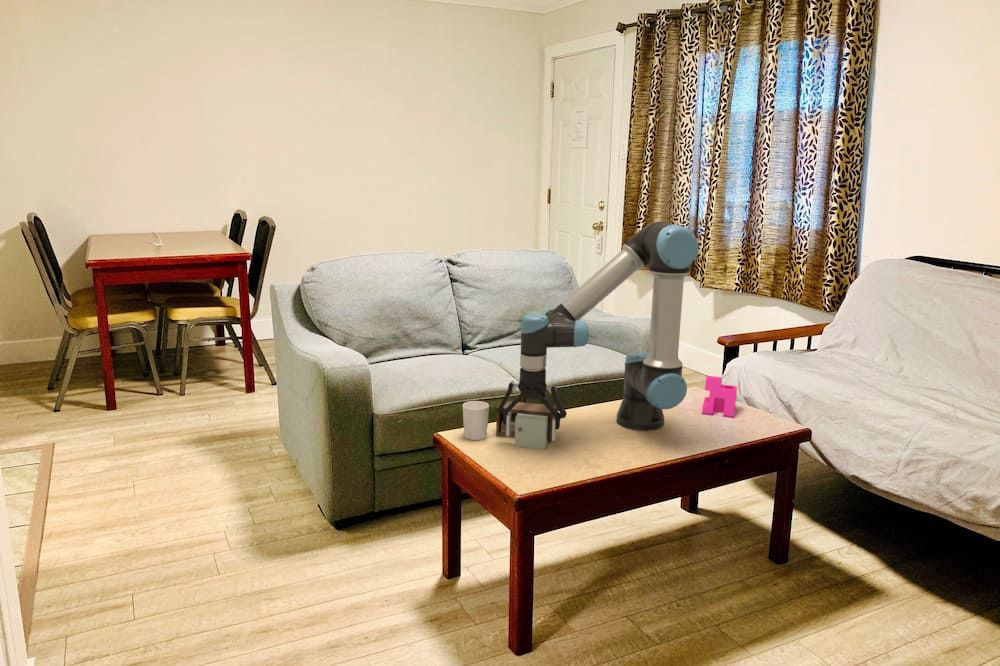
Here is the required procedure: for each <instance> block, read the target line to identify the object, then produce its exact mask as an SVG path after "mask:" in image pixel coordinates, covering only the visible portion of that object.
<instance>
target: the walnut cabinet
mask: <svg viewBox="0 0 1000 666" xmlns="http://www.w3.org/2000/svg"><path fill="white" fill-rule="evenodd" d="M501 402H502V400H501V401H500V403H499V404H498V405H497V407H496V421H495V422H496V426H495V427H496V428H495V429H496V430H495V435H496V437H503V438H513V439H515V417H516V416H517V414H518V413H519V414H529V415H540V416H548V428H547V442H553V441H552V424H553V418H554V416H553V415H552V414H551V412H550V411H549V410H548V409H547V407H546V406H545V405H544V403H534V402H533V403H532V402H531V403H530V402H520V401H519V402H518V403H517V404H516V405H515V406H514V407H513V408H512V409H511V410H510V411H509V412H508V413H511V434H510V435H509V437H507V436H506V425H504V424H503V414H502V413H501V412H498V411H497V409H498V407H499V405H500V404H501ZM512 402H513V401H510V400H509V401H508V400H507V402H506V404H505V405H504V407H503V408H507V407H508V406H509V405H510V404H511V403H512ZM553 406H554V407H555V408H556V409H557V406H556V404H553Z"/></svg>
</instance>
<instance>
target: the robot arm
mask: <svg viewBox="0 0 1000 666" xmlns="http://www.w3.org/2000/svg"><path fill="white" fill-rule="evenodd" d="M698 254H699V242H698V239H697V237H696V236H695V234H694V233H693V232H692V231H691V230H690V229H688V228H687V227H685V226H682V225H680V224H674V223H668V222H664V221H655V222H652V223H649V224H648V225H646V226H645V227H643V228H642V229H640V230H638V231H637V232H636V233H635V234H634V235H632V237H630V238H629V239H628V240H626V241H625V243H624V244H623V245H622V249H621V250H620V251H619V252H618V253H617V254H616V255H614V256H613V258H612V259H610V260H609V261H608V262H606V264H605V265H603V266H602V267H601V268H600V269H599V270H598V271H597V272H595V273H594V274H593V275H592V276H590V278H589V279H587V280H586V281H585V282H584V283H582V284H581V285H580V287H578V288H577V289H576V290H575V291H574V292H572V293H571V294H570V295H569V296H567V298H565V300H563V301H562V302H561V303H559V305H557V306H556V307H555V308H554V309H553V308H550V309H547V310H545V311H544V312H543V313H527V314H525V315H523V316H522V318H521V325H520V353H519V354H520V358H519V366H520V369H519V382H515V381H514V380H511V381H510V382H509V383H508V385H507V386H508V387H507V391H506V392H505V395H504V396H503V398H502V400H501V401H502V402H501V401H500V403H501V404H500V403H499V404H500V405H499V404H498V405H499V407H498V406H497V407H498V409H497V408H496V412H497V411H498V412H501V413H502V414H503V424H504V425H506V436H507V437H506V438H510V437H509V435H510V434H511V413H508V412H509V411H510V410H511V409H512V408H513V407H514V406H515V405H516V404H517V403H518V402H520V401H521V400H522V399H525V400H534V401H537V400H540V402H541V403H542V404H544V405H545V406H546V407H547V409H548V410H549V411H550V412H551V414H552V415H553V416H554V418H553V424H552V441H551V442H555V441H556V438H557V431H559V429H560V428H561V419H566V417H567V415H568V413H567V411H566V408H565V407H564V405H563V402H562V400H561V398H560V395H559V393H558V389H557V387H558V386H557V385H556V384H552V385H547V379H546V377H547V369H546V367H547V354H548V353H547V349H549V348H550V349H551V348H552V349H553V348H579V347H585V346H586V345H587V344H588V342H589V338H590V329H589V325H588V323H587V322H586V321H584V320H581V319H582V318H584V317H585V316H586V314H588V313H589V312H590V311H592V309H594V308H595V307H596V306H597V305H598V304H599V303H601V302H602V301H603V300H604V299H606V297H608V296H610V294H611V293H612V292H614V290H616V289H617V288H618V287H619V286H620V285H621V284H623V283H624V282H625V281H626V280H627V279H629V278H630V277H631V276H632V275H633V274H635V272H637V271H638V270H640V269H641V270H644V269H645V268H647V266H648V271H649V273H650V274H651V275H652V276H653V283H652V284H653V285H652V286H653V287H652V299H651V313H650V314H651V315H650V327H649V328H650V330H649V344H648V345H649V347H648V352H647V351H646V352H645V351H642V352H641V351H640V352H630V353H628V354H627V355H626V357H625V362H624V375H623V376H624V377H623V378H624V379H623V381H624V382H623V397H622V400H621V402H620V406H619V408H618V411H617V413H616V420H615V421H616V423H617V424H618V425H619V426H621V427H624V428H626V429H629V430H634V431H635V430H636V431H655V430H658V429H659V430H660V429H662V428H663V427H664V426H665V415H664V411H663V410H670V409H674V408H676V407H677V406H678V405H679V404H680V403H682V402H683V400H684V399H685V397H686V395H687V392H688V385H687V382H686V379H685V378H684V377H683V362H682V361H681V360H680V359H679V346H680V333H681V319H682V310H683V309H682V306H683V294H684V284H685V283H684V282H685V278H686V277H687V276H688V275H689V274H690V273H691V265H692V264H693V262H694V261H696V259H697V257H698ZM516 389H518V390H519V392H520V393H519V394H518V395H517V396H516V397H515V398H514V399H513V401H511V402H512V403H511V404H510V405H509V406H508V407H507V408H503V407H504V405H505V404H506V402H507V401H508V400H509V398H510V396H511V394H512V393H513V391H515V390H516ZM547 391H548V393H550V394H551V397H552V399H553V402H554V403H555V404H553V403H552V401H550V399H549V398H548V396H547V394H546V393H545V392H547ZM553 405H555V406H556V408H555V407H554V406H553Z"/></svg>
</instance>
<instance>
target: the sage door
mask: <svg viewBox="0 0 1000 666" xmlns="http://www.w3.org/2000/svg"><path fill="white" fill-rule="evenodd" d="M547 428H548V416H540V415H529V414H519V413H518V414H517V416H516V417H515V438H514V447H518V448H519V447H520V448H530V449H538V450H545V449H546V448H547V445H548V441H547Z"/></svg>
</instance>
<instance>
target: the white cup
mask: <svg viewBox="0 0 1000 666" xmlns="http://www.w3.org/2000/svg"><path fill="white" fill-rule="evenodd" d="M489 408H490V405H489V403H487V402H485V401H480V400H472V401H471V400H470V401H465V402H464V403H463V404H462V420H463V432H464V433H463V437H464V438H465V439H467V440H470V441H481V440H484V439H486V438H487V435H488V426H489V424H488V423H489V411H490V409H489Z"/></svg>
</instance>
